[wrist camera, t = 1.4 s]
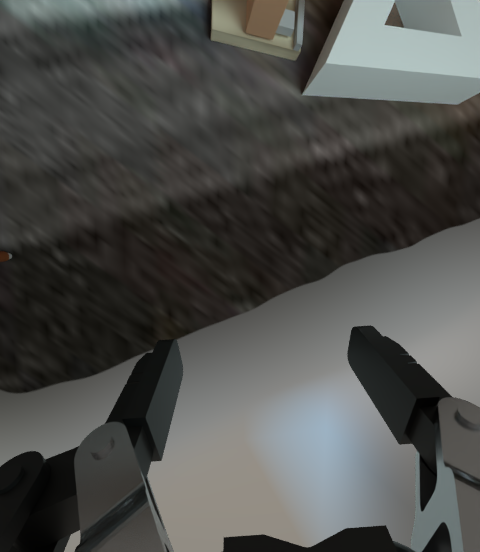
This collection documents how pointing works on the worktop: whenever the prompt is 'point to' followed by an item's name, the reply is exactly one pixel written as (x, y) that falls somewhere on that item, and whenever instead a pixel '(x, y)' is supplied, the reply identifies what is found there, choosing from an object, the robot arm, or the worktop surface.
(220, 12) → the board
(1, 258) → the magnifying glass
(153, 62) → the worktop surface
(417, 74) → the triangle block
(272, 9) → the block
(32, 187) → the worktop surface
